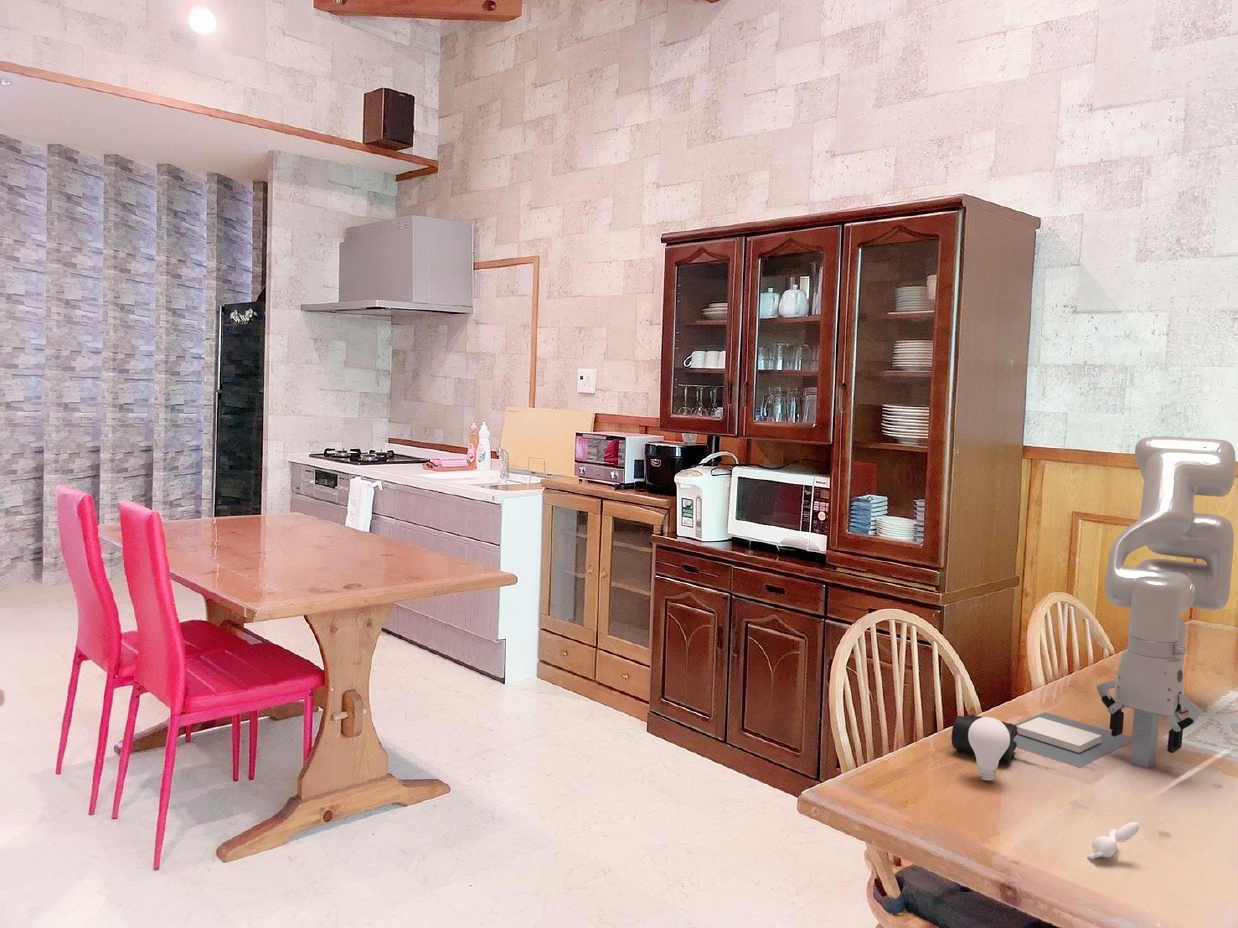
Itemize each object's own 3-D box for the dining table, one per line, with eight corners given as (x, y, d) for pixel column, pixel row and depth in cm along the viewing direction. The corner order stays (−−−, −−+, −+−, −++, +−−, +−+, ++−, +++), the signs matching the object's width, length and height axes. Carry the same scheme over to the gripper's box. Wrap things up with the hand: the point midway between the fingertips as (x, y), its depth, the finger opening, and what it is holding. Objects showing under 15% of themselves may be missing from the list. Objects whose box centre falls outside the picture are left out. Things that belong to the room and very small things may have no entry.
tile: (1039, 717, 187) (1016, 726, 181) (1101, 735, 178) (1079, 745, 172) (1038, 724, 187) (1015, 734, 181) (1101, 743, 178) (1079, 754, 172)
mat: (1044, 716, 195) (1045, 712, 195) (1137, 743, 181) (1137, 738, 181) (983, 741, 180) (983, 736, 179) (1079, 773, 166) (1079, 767, 166)
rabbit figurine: (1072, 850, 137) (1109, 819, 140) (1091, 875, 136) (1128, 843, 138) (1095, 846, 132) (1132, 814, 134) (1115, 872, 131) (1153, 839, 133)
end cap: (949, 755, 172) (952, 719, 172) (962, 744, 178) (964, 709, 177) (1007, 770, 166) (1009, 733, 166) (1017, 758, 172) (1020, 722, 171)
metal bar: (1136, 765, 170) (1142, 700, 169) (1154, 770, 168) (1160, 704, 167) (1129, 769, 168) (1134, 703, 167) (1147, 774, 166) (1153, 707, 165)
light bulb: (987, 792, 157) (992, 727, 156) (956, 776, 162) (960, 714, 162) (1015, 785, 160) (1020, 721, 159) (984, 770, 166) (988, 709, 165)
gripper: (1215, 655, 162) (1206, 753, 164) (1110, 633, 175) (1103, 724, 177) (1198, 662, 157) (1189, 763, 159) (1091, 639, 171) (1084, 732, 172)
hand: (1144, 742), depth 168 cm, fingers open, 9 cm apart
